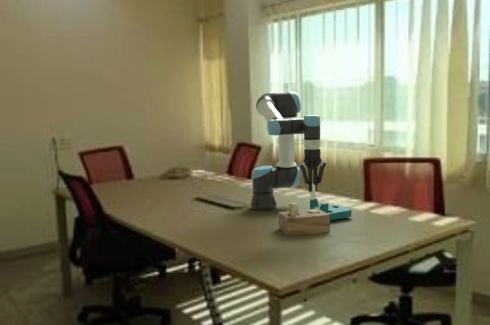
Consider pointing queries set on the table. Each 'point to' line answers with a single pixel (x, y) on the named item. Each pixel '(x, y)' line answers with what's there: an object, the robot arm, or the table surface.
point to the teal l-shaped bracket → (331, 210)
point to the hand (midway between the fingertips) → (312, 198)
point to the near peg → (293, 209)
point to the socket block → (304, 222)
